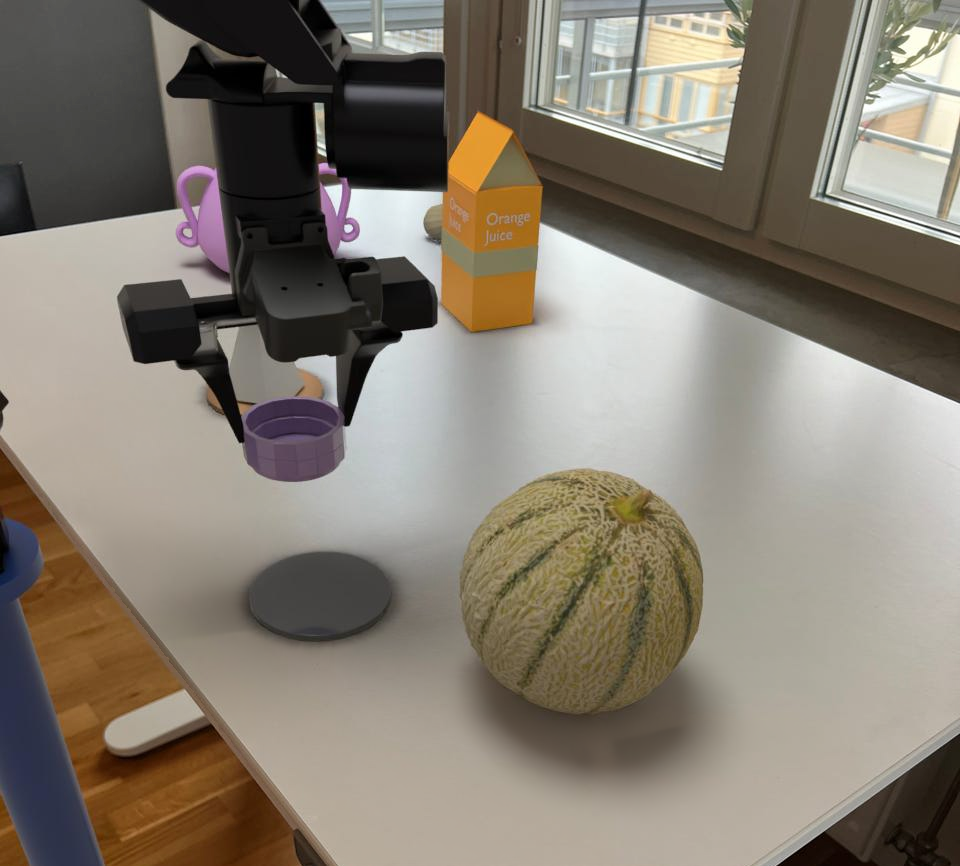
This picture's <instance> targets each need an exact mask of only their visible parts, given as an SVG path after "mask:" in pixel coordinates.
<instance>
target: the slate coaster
mask: <svg viewBox="0 0 960 866" xmlns="http://www.w3.org/2000/svg"><path fill="white" fill-rule="evenodd" d="M248 601H249V606H250V610H251V612H252V615H253V616H254V618H255V619H256V620H257V621H258V623H260V624H261V626H263V627H264V628H266V629H267V630H269V631H271V632H273V633H275V634H277V635H280V636H282V637H286V638H288V639H292V640H299V641H307V642H324V641H334V640H339V639H344V638H348V637H351V636H353V635H356V634H359V633H361V632H363V631H365V630H367V629H369V628H370V627H372V626H373V625H375V624H376V623H378V622H379V621H380V620H381V618H382V617H384V615H385V614H386V612H387V611H388V609H389V607H390V604H391V601H392V588H391V583H390V580H389V577H388V576H387V575H386V573H385V572H384V571H383V570H382V569H381V568H380V567H378V566H377V565H376V564H375V563H373V562H372V561H370V560H367V559H365V558H363V557H361V556H358V555H355V554H350V553H345V552H339V551H311V552H305V553H300V554H295V555H292V556H289V557H286V558H284V559H283V558H282V559H281V560H278V561H277V562H274V563H273V564H271V565H269V567H268V566H267V567H266V568H265V569H264V570H263V571H261V572H260V574H259V575H258V576H256V578H255V580H254V581H253V582H252V585H251V587H250V589H249V599H248Z"/></svg>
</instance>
